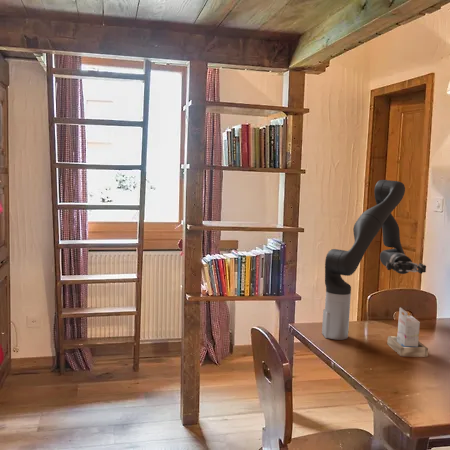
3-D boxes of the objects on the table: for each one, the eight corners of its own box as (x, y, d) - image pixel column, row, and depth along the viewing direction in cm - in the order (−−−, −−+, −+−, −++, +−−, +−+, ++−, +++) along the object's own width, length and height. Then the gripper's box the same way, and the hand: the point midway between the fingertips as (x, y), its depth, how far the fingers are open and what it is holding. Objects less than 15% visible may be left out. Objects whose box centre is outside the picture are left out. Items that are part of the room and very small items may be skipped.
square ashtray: (400, 356, 174) (401, 347, 173) (387, 344, 186) (387, 336, 186) (427, 356, 174) (428, 348, 174) (412, 344, 186) (413, 336, 186)
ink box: (418, 354, 176) (421, 313, 174) (403, 354, 176) (406, 312, 174) (409, 346, 184) (412, 307, 183) (395, 346, 184) (398, 306, 183)
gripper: (383, 252, 207) (391, 259, 191) (419, 255, 205) (430, 261, 189) (382, 270, 208) (389, 278, 192) (417, 273, 206) (428, 281, 190)
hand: (409, 270), depth 190 cm, fingers open, 8 cm apart
